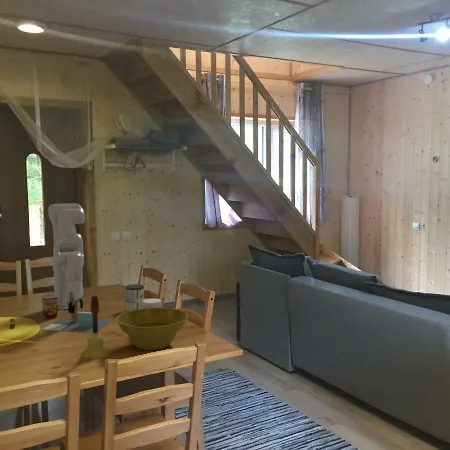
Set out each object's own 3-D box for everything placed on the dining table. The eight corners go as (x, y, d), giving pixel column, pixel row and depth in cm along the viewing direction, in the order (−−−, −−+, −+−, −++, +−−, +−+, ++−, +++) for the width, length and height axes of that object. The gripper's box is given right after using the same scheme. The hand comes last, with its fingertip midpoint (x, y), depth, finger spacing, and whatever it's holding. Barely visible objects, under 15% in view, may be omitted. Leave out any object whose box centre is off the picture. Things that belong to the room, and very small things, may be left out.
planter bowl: (101, 352, 222) (100, 321, 220) (140, 331, 251) (139, 304, 250) (167, 362, 210) (167, 330, 209) (199, 339, 240) (199, 311, 238)
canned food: (43, 321, 268) (42, 298, 267) (42, 317, 275) (41, 295, 274) (58, 319, 271) (58, 297, 270) (57, 315, 278) (57, 294, 277)
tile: (78, 326, 256) (77, 312, 255) (80, 325, 258) (79, 311, 257) (93, 327, 255) (93, 313, 254) (95, 326, 257) (94, 312, 256)
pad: (42, 330, 250) (42, 329, 250) (51, 324, 259) (51, 324, 258) (59, 331, 248) (59, 330, 248) (68, 325, 257) (68, 324, 257)
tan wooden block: (71, 322, 263) (70, 299, 262) (74, 320, 266) (73, 297, 265) (77, 322, 263) (77, 299, 261) (80, 320, 266) (80, 298, 265)
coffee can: (128, 308, 295) (128, 284, 294) (146, 308, 294) (146, 284, 293) (123, 312, 285) (123, 287, 284) (141, 313, 284) (141, 288, 283)
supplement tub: (158, 325, 261) (158, 297, 259) (164, 330, 252) (164, 301, 251) (140, 328, 256) (139, 299, 255) (145, 333, 248) (145, 303, 247)
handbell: (77, 358, 214) (75, 299, 212) (85, 348, 226) (84, 292, 224) (106, 358, 214) (105, 299, 212) (113, 348, 226) (112, 292, 224)
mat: (41, 331, 249) (41, 330, 249) (62, 319, 271) (62, 318, 271) (95, 334, 245) (95, 333, 245) (112, 322, 267) (112, 320, 267)
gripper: (75, 274, 271) (76, 306, 273) (60, 280, 254) (61, 314, 255) (88, 274, 270) (89, 306, 271) (74, 280, 253) (75, 314, 254)
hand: (75, 310), depth 263 cm, fingers open, 9 cm apart
